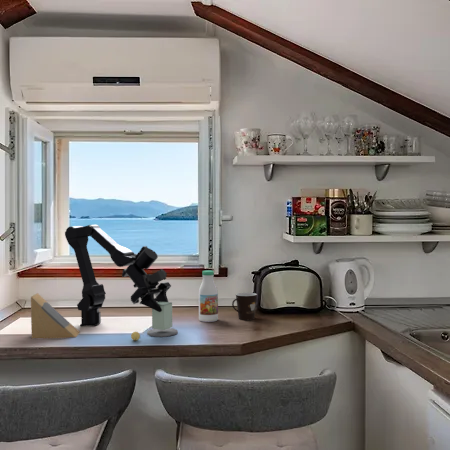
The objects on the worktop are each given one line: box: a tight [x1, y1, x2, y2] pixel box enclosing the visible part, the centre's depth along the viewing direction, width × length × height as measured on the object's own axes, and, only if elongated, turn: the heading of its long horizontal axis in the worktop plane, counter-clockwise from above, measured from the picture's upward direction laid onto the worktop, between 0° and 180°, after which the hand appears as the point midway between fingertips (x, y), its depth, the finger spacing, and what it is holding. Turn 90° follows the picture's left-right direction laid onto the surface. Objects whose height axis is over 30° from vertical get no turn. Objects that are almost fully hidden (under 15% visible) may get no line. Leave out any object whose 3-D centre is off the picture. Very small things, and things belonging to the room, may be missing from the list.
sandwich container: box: [30, 292, 81, 339], centre depth 181 cm, size 9×15×15 cm, turn 96°
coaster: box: [146, 327, 179, 338], centre depth 183 cm, size 11×11×1 cm
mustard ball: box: [130, 331, 141, 341], centre depth 173 cm, size 3×3×3 cm
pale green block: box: [151, 301, 173, 330], centre depth 183 cm, size 5×5×9 cm
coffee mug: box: [231, 292, 258, 321], centre depth 206 cm, size 12×9×10 cm
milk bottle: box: [198, 269, 219, 323], centre depth 204 cm, size 8×8×20 cm
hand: (165, 310), depth 182 cm, fingers closed on pale green block, 5 cm apart
